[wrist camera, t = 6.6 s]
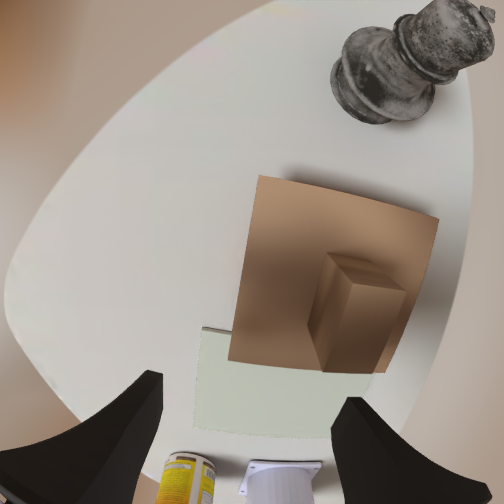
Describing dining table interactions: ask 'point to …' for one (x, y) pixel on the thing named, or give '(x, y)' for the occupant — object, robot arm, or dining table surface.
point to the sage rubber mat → (267, 394)
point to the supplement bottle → (187, 480)
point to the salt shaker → (410, 60)
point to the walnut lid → (327, 279)
